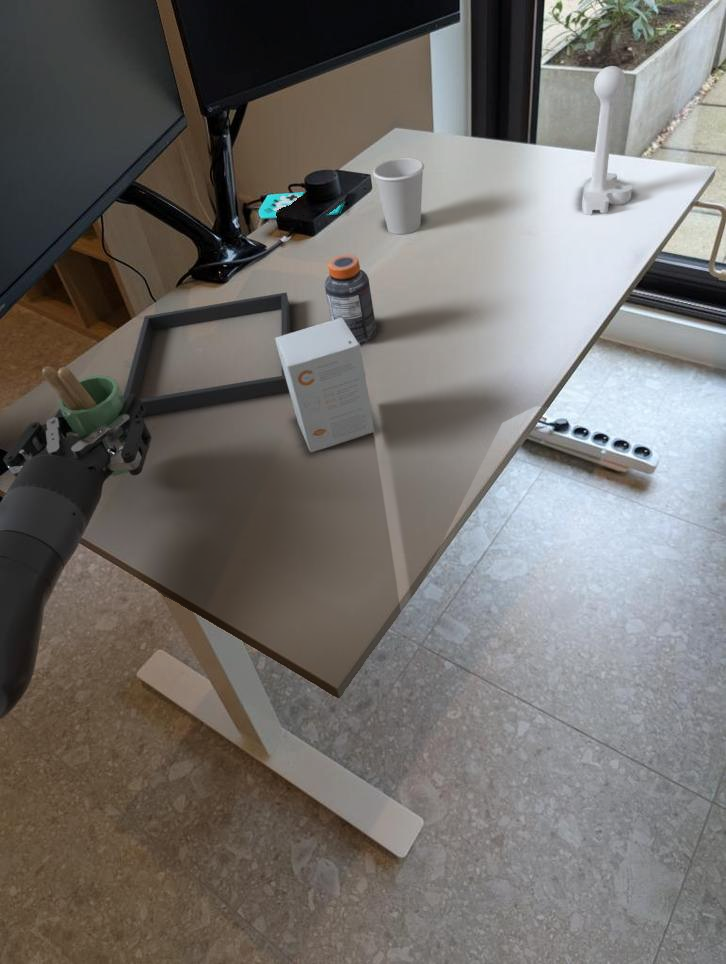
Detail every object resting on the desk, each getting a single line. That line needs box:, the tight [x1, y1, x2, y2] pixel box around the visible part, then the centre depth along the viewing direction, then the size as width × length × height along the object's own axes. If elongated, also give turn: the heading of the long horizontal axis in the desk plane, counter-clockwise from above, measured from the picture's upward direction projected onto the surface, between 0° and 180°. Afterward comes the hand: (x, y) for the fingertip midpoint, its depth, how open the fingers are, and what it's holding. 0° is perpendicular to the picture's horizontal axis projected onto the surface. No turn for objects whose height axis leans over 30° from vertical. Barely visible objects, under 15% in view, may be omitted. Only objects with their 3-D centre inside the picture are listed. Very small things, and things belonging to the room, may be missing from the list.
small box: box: [274, 317, 376, 453], centre depth 77 cm, size 8×6×13 cm
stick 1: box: [41, 365, 83, 410], centre depth 70 cm, size 1×1×14 cm
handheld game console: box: [258, 191, 346, 219], centre depth 128 cm, size 10×16×1 cm, turn 81°
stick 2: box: [57, 366, 97, 409], centre depth 70 cm, size 1×1×14 cm
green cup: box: [57, 374, 130, 477], centre depth 73 cm, size 6×6×9 cm
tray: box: [123, 292, 291, 417], centre depth 95 cm, size 22×22×3 cm
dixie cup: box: [372, 157, 425, 235], centre depth 114 cm, size 8×8×10 cm
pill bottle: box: [324, 254, 377, 346], centre depth 92 cm, size 6×6×11 cm
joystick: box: [581, 65, 633, 216], centre depth 107 cm, size 11×8×20 cm
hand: (106, 401), depth 74 cm, fingers closed on green cup, 6 cm apart
